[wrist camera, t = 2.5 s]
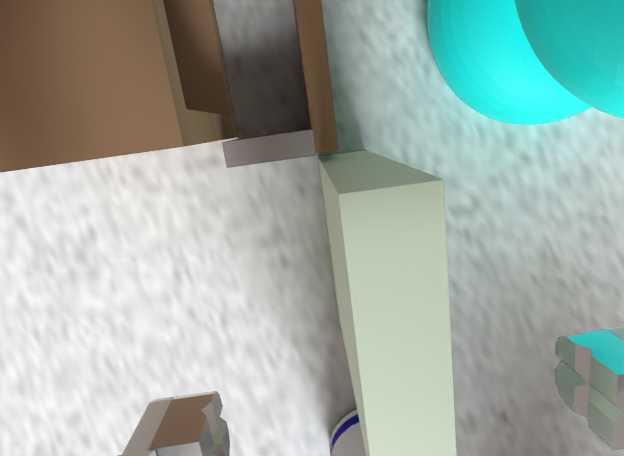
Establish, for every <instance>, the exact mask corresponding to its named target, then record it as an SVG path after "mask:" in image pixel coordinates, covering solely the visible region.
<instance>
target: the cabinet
mask: <svg viewBox="0 0 624 456" xmlns="http://www.w3.org/2000/svg"><path fill="white" fill-rule="evenodd" d="M293 4H294V11H295V19H296V26H297V34H298V41H299V49H300V56H301V64H302V71H303V79H304V86H305V94H306V101H307V109H308V116H309V124H310V129H306V130H299V131H292V132H285V133H278V134H271V135H264V136H256V137H249V138H242V139H236V140H231V141H227V142H222V145H223V151H224V156H225V161H226V166H227V168H229V167H236V166H243V165H250V164H257V163H264V162H271V161H279V160H286V159H293V158H300V157H307V156H314V155H316V153H322V152H329V151H336V150H338V143H337V134H336V126H335V117H334V109H333V100H332V92H331V83H330V74H329V66H328V57H327V49H326V40H325V31H324V23H323V14H322V6H321V0H293ZM235 137H238V136H237V130H236V125H235V119H234V114H233V108H232V103H231V97H230V92H229V86H228V81H227V75H226V70H225V64H224V59H223V53H222V48H221V42H220V37H219V31H218V26H217V20H216V15H215V10H214V4H213V0H0V172H7V171H14V170H21V169H28V168H35V167H42V166H49V165H56V164H63V163H70V162H77V161H84V160H91V159H98V158H106V157H113V156H120V155H127V154H134V153H141V152H148V151H155V150H162V149H169V148H176V147H183V146H189V145H195V144H201V143H206V142H212V141H218V140H224V139H229V138H235Z"/></svg>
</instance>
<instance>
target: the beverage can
mask: <svg viewBox="0 0 624 456" xmlns="http://www.w3.org/2000/svg"><path fill="white" fill-rule="evenodd" d="M330 454H331V456H366V452H365V446H364V441H363V436H362V431H361V426H360V421H359V416H358V411H357V409H356V410H354V411H352V412H350V413H349V414H347V415H346V416H344V417H343V418H342V419H341V420H340V421H339V422H338V423H337V425H336V426H335V428H334V430H333V432H332V434H331V437H330Z"/></svg>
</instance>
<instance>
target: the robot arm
mask: <svg viewBox="0 0 624 456" xmlns="http://www.w3.org/2000/svg"><path fill="white" fill-rule="evenodd" d="M556 354H557V356H558V357H559V358H560V359H561V360H562V361H561V362H560V364H559V365H558V367H557V368H556V369H555V379H556V385H557V388H558V390H559V393H560V395H561V397H562V398H563V400H564V401H565V403H566V404H567V405H568V406H569V407H570V408H571V409H572V410H573V411H574V412H576V413H578V414H581V415H583V416H585V417H587V418H588V425H589V427H590V428H591V429H592V430H593V431H594V432H595V433H596V434H597V435H598V436H599V437H600V438H601V439H602V440H603V441H604V442H605V443H606V444H607V445H608V446H609V447H610V448H611V449H612V450H619V449H624V326H618V327H613V328H608V329H602V330H600V331H594V332H588V333H583V334H577V335H571V336H565V337H559V338H558V340H557V342H556ZM222 407H223V406H222V402H221V398H220V395H219V393H218V392H217V391H213V392H206V393H199V394H191V395H184V396H176V397H169V398H163V399H157V400H153V401H152V402H150V403H149V405H148V407H147V409H146V410H145V412H144V414H143V416H142V418H141V420H140V422H139V424H138V425H137V427H136V429H135V431H134V433H133V435H132V437H131V439H130V441H129V442H128V444H127V446H126V448H125V450H124V452H123V454H122V455H119V456H229V449H230V440H229V431H228V427H227V422H226V421H224V420H223V419H222V418H221V417H220V415H221V411H222Z"/></svg>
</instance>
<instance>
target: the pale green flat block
mask: <svg viewBox="0 0 624 456" xmlns="http://www.w3.org/2000/svg"><path fill="white" fill-rule="evenodd" d="M318 161H319V169H320V177H321V184H322V192H323V200H324V207H325V215H326V222H327V230H328V238H329V245H330V253H331V261H332V268H333V276H334V284H335V291H336V299H337V307H338V314H339V320H340V325H341V330H342V335H343V340H344V345H345V350H346V355H347V361H348V366H349V371H350V376H351V381H352V386H353V391H354V396H355V401H356V406H357V411H358V416H359V421H360V426H361V431H362V436H363V441H364V446H365V452H366V456H456V434H455V413H454V392H453V370H452V349H451V327H450V306H449V285H448V263H447V242H446V220H445V199H444V180H443V179H440V178H438V177H435V176H432V175H430V174H427V173H424V172H422V171H419V170H416V169H414V168H411V167H408V166H406V165H403V164H401V163H398V162H395V161H393V160H390V159H387V158H385V157H382V156H379V155H377V154H374V153H371V152H369V151H366V150H362V151H355V152H348V153H341V154H334V155H327V156H320V157H318Z"/></svg>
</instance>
